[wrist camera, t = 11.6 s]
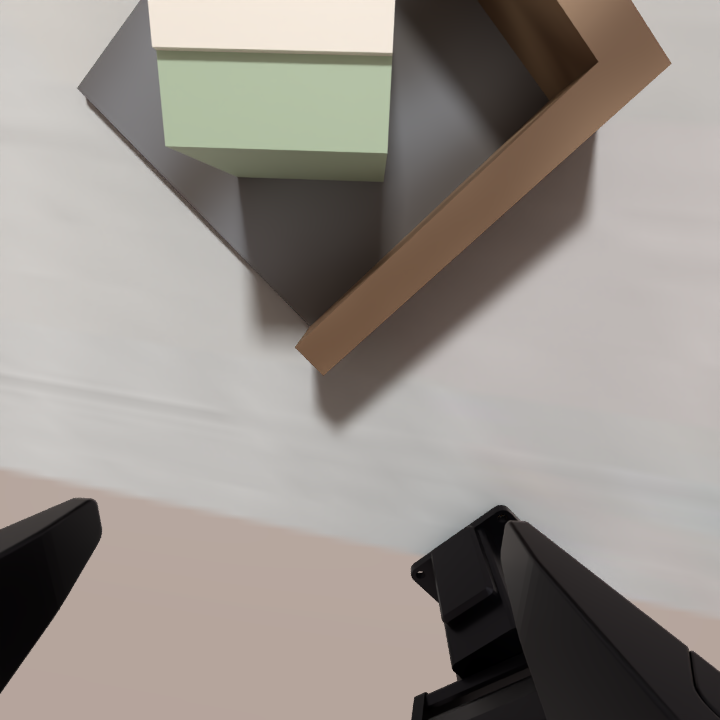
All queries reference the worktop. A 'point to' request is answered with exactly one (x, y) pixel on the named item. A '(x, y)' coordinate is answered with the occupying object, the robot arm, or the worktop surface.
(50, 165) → the worktop surface
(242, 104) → the cube
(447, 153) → the corner arena
